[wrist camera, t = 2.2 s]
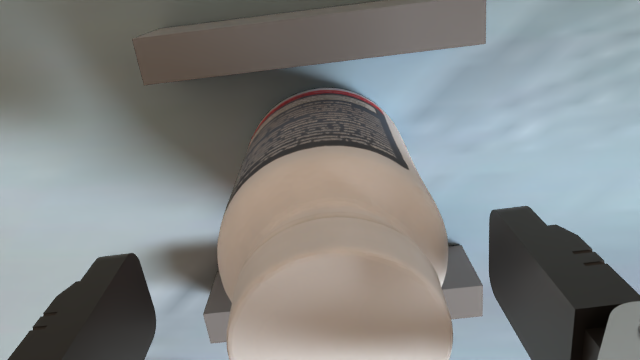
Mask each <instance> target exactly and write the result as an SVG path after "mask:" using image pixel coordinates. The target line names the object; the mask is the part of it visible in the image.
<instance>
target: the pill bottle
mask: <svg viewBox="0 0 640 360" xmlns="http://www.w3.org/2000/svg"><path fill="white" fill-rule="evenodd" d="M217 260H218V268H219V274H220V277H221V280H222V284H223V287H224V289H225V292H226V294H227V295H228V297H229V299H230V301H231V302H232V306H231V311H230V316H229V321H228V327H227V351H228V355H229V359H230V360H449V357H450V355H451V349H452V344H453V329H452V321H451V316H450V312H449V309H448V306H447V303H446V300H445V297H444V294H443V291H442V288H441V287H442V284H443V282H444V278H445V275H446V270H447V263H448V239H447V233H446V229H445V225H444V222H443V219H442V217H441V214H440V212H439V210H438V208H437V206H436V204H435V202H434V200H433V198H432V196H431V195H430V193H429V191H428V190H427V188H426V186H425V184H424V183H423V181H422V179H421V177H420V176H419V174H418V172H417V169H416V167H415V165H414V163H413V161H412V159H411V157H410V155H409V153H408V150H407V148H406V146H405V143H404V141H403V139H402V137H401V136H400V133H399V131H398V130H397V128H396V126H395V124H394V123H393V121H392V120H391V119H390V117H389V116H388V115H387V114H386V113H385V112H384V111H383V110H382V109H381V108H380V107H379V106H377V105H376V104H375V103H374V102H372V101H371V100H369V99H367V98H365V97H364V96H362V95H360V94H357V93H354V92H351V91H348V90H344V89H337V88H318V89H311V90H307V91H303V92H300V93H297V94H295V95H293V96H290V97H289V98H287V99H285V100H283V101H282V102H280V103H279V104H278V105H276V106H275V107H274V108H273V109H271V110H270V111H269V112H268V114H267V115H266V116H265V117H264V118H263V119H262V121H261V122H260V124H259V125H258V127H257V129H256V131H255V132H254V135H253V137H252V139H251V141H250V144H249V147H248V150H247V152H246V155H245V158H244V161H243V163H242V166H241V169H240V172H239V174H238V177H237V180H236V183H235V185H234V188H233V191H232V194H231V196H230V199H229V202H228V204H227V207H226V210H225V213H224V216H223V219H222V223H221V227H220V232H219V237H218V244H217Z"/></svg>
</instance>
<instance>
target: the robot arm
mask: <svg viewBox="0 0 640 360" xmlns="http://www.w3.org/2000/svg"><path fill="white" fill-rule="evenodd" d="M489 277H490V283H491V287H492V290H493V293H494V296H495V298H496V300H497V301H498V303H499V305H500V307H501V308H502V310H503V312H504V313H505V315H506V317H507V319H508V320H509V322H510V324H511V326H512V327H513V329H514V331H515V332H516V334H517V336H518V338H519V339H520V341H521V343H522V344H523V346H524V348H525V350H526V351H527V353H528V355H529V357H530V358H531V360H640V295H639V294H638V293H637V292H636V291H635V290H634V289H633V288H632V287H631V286H630V285H629V284H628V283H627V282H626V281H625V280H624V279H622V278H621V277H620V276H619V275H618V274H617V273H616V272H615V271H614V270H613V269H612V268H611V267H610V266H609V265H608V264H605V263H604V260H603V259H602V258H601V257H600V256H599V255H598V254H597V253H596V252H592V249H591V248H590V247H589V246H588V245H587V244H586V243H585V242H584V241H583V240H582V239H581V238H580V237H579V236H578V235H576V234H574V233H572V232H570V231H568V230H566V229H564V228H562V227H560V226H558V225H549V226H547V225H546V224H545V223H544V222H543V221H542V220H541V219H540V218H539V217H538V215H537V214H536V213H535V212H534V211H533V210H532V209H531V208H530V207H528V206H521V207H513V208H505V209H497V210H492V212H491V214H490V220H489ZM43 314H44V316H43V317H40V318H39V320H38V321H37V322H36V324H35V325H34V326H33V330H32V331H29V333H28V334H27V335H26V337H25V338H24V339H23V340H22V342H21V343H20V344H19V346H18V347H17V348H16V349H15V351H14V352H13V353H12V355H11V356H10V357H9V359H8V360H144V359H145V357H146V354H147V352H148V350H149V347H150V345H151V343H152V340H153V338H154V334H155V329H156V315H155V310H154V306H153V303H152V300H151V296H150V293H149V290H148V287H147V284H146V280H145V277H144V274H143V271H142V267H141V264H140V261H139V259H138V257H137V256H136V255H135V254H133V253H129V254H121V255H112V256H104V257H99V258H97V259H96V260H95V262H94V263H93V264H92V266H91V267H90V268H89V270H88V271H87V273H86V274H85V275H84V277H83V278H82V279H81V281H78V282H75V283H74V284H72V285H71V286H70V287H69V288H67V289H66V290H65V291H63V292H62V293H61V294H59V295H58V296H57V297H56V298H55V299H54V300H53V302H52V303H51V304H50V305H49V307H48V308H47V309H46V311H45V312H44V313H43Z"/></svg>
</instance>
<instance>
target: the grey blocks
mask: <svg viewBox="0 0 640 360" xmlns="http://www.w3.org/2000/svg"><path fill="white" fill-rule="evenodd" d="M132 41H133V45H134V49H135V53H136V56H137V60H138V64H139V68H140V72H141V76H142V80H143V83H144V85H150V84H159V83H167V82H175V81H183V80H192V79H200V78H208V77H216V76H224V75H233V74H241V73H249V72H257V71H265V70H274V69H282V68H290V67H298V66H307V65H315V64H323V63H331V62H339V61H348V60H356V59H364V58H372V57H381V56H389V55H397V54H405V53H413V52H422V51H430V50H438V49H446V48H455V47H463V46H471V45H479V44H486V0H382V1H374V2H367V3H359V4H351V5H343V6H335V7H327V8H319V9H311V10H303V11H295V12H287V13H279V14H271V15H263V16H256V17H248V18H240V19H232V20H224V21H216V22H208V23H200V24H192V25H184V26H176V27H168V28H160V29H158V30H155V31H152V32H149V33H147V34H144V35H141V36H138V37H136V38H133V39H132ZM441 288H442V291H443V294H444V297H445V300H446V303H447V306H448V309H449V312H450V316H451V319H459V318H469V317H479V316H482V310H483V285H482V283H481V281H480V279H479V277H478V276H477V274H476V272H475V270H474V268H473V266H472V264H471V262H470V261H469V259H468V257H467V255H466V253H465V251H464V249H463V247H462V245H459V246H450V247H448V263H447V270H446V275H445V278H444V282H443V284H442V287H441ZM231 306H232V302H231V301H230V299H229V297H228V295H227V294H226V292H225V289H224V287H223V284H222V280H221V277H220V274H219V271H217V274H216V277H215V280H214V283H213V286H212V289H211V292H210V295H209V298H208V301H207V304H206V307H205V310H204V314H203V315H204V319H205V323H206V327H207V331H208V334H209V338H210V342H211V343H220V342H227V327H228V321H229V316H230V311H231Z"/></svg>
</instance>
